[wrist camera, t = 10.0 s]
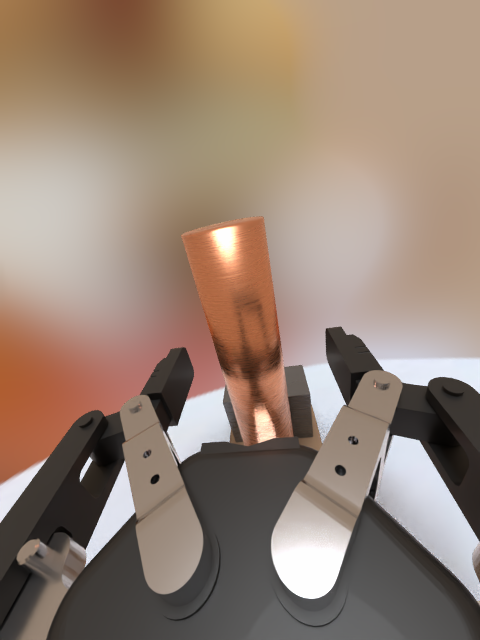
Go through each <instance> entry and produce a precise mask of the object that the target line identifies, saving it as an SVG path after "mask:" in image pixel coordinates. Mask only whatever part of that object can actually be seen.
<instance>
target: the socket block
mask: <svg viewBox="0 0 480 640" xmlns="http://www.w3.org/2000/svg"><path fill="white" fill-rule="evenodd" d="M284 370H285V377H286V384H287V392H288V399H289V406H290V414H291V421H292V428H293V435H294V437H298V438H307V437H313V425H312V412H311V399H310V392H309V388H308V385H307V381H306V377H305V374H304V370H303V366H302V365H299V366H289V367H284ZM223 405H224V408H225V411H226V414H227V417H228V420H229V423H230V426H231V429H232V432H233V435H234V438H235V441H236V442H243V439H242V436H241V433H240V429H239V426H238V423H237V419H236V416H235V413H234V409H233V406H232V403H231V400H230V396H229V393H228V390H227V386H225V392H224V399H223Z"/></svg>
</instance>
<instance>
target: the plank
mask: <svg viewBox="0 0 480 640" xmlns="http://www.w3.org/2000/svg"><path fill="white" fill-rule="evenodd" d="M311 412H312V425H313V437H307V438H298V439H299V445H304V446H307V447H310V448H313V449H315V450H317V451H319V450H320V448H321V446H322V442H321V438H320V434H319V430H318V427H317V423H316V419H315V415H314V412H313V408H312V405H311ZM230 443H234V444H239V445H244V443H243V442H236V441H235V438H234V435H233V432H232V429H231V435H230Z"/></svg>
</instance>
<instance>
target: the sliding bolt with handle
mask: <svg viewBox="0 0 480 640" xmlns="http://www.w3.org/2000/svg"><path fill="white" fill-rule="evenodd" d="M181 236H182V240H183V243H184V247H185V250H186V253H187V256H188V260H189V263H190V267H191V270H192V273H193V277H194V280H195V283H196V287H197V290H198V293H199V297H200V300H201V303H202V307H203V310H204V313H205V316H206V320H207V323H208V326H209V330H210V333H211V336H212V340H213V343H214V346H215V350H216V353H217V356H218V359H219V363H220V366H221V369H222V373H223V376H224V379H225V383H226V386H227V390H228V393H229V396H230V400H231V403H232V406H233V409H234V413H235V416H236V419H237V423H238V426H239V429H240V433H241V436H242V439H243V443H244V446H251V445H254V444H257V443H260V442H263V441H266V440H269V439H272V438H283V437H294V435H293V428H292V421H291V414H290V406H289V399H288V392H287V384H286V377H285V370H284V363H283V355H282V348H281V341H280V334H279V326H278V319H277V312H276V304H275V297H274V290H273V282H272V275H271V268H270V261H269V254H268V246H267V239H266V232H265V225H264V217H260V216H259V217H249V218H242V219H237V220H232V221H227V222H222V223H218V224H213V225H209V226H206V227H202V228H198V229H195V230H192V231H189V232H186V233H184V234H182V235H181Z"/></svg>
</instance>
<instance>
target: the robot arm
mask: <svg viewBox="0 0 480 640" xmlns="http://www.w3.org/2000/svg"><path fill="white" fill-rule="evenodd" d="M326 355H327V360H328V363H329V366H330V368H331V370H332V373H333V375H334V377H335V380H336V382H337V384H338V386H339V389H340V391H341V393H342V396H343V398H344V400H345V403H346V405H347V406H346V405H344V406H343V407H342V408H341V410H340V412H339V414H338V416H337V417H336V419H335V421H334V423H333V425H332V427H331V429H330V431H329V433H328V435H327V436H326V438H325V440H324V442H323V444H322V446H321V448H320V450H319V451H317V450H315V449H313V448H310V447H307V446H304V445H299V439H298V437H283V438H272V439H269V440H266V441H263V442H260V443H257V444H254V445H251V446H244V445H239V444H234V443H229V442H212V443H202V447H201V451H200V452H198V453H196V454H194V455H192V456H190V457H188V458H187V459H185V460H184V461H183V462H182V463H181V461H180V459H179V457H178V455H177V452H176V450H175V448H174V446H173V443H172V441H171V439H170V437H169V434H168V433H167V430H168V427H169V426H177V425H178V422H179V419H180V416H181V413H182V410H183V407H184V404H185V401H186V398H187V395H188V392H189V390H190V387H191V384H192V381H193V377H194V370H193V366H192V364H191V361H190V358H189V355H188V353H187V350H186V348H184V347H183V348H175V349H171V350H170V352H169V354H168V356H167V357H166V358H164V359H163V360H161V361H160V362H159V363H158V364H157V366H156V368H155V369H154V372H153V373H152V374H151V378H149V380H148V381H147V383H146V385H145V387H144V388H143V390H142V392H141V394H140V395H139V396H136V397H133V398H131V399H130V400H128V401H127V402H126V403H125V404H124V405H123V406H122V408H121V410H120V412H117V413H115V414H111V415H109V416H106V417H105V416H104V415H103V413H102V412H101V411H99V410H95V411H91V412H88V413H86V414H85V415H83V416H81V417H80V418H79V419H78V420H77V421H76V422H75V423H74V424H73V425H72V426H71V428H70V429H69V430H68V432H67V433H66V435H65V436H64V438H63V439H62V440H61V442H60V443H59V444H58V445H57V447H56V448H55V450H54V451H53V452H52V454H51V455H50V456H49V458H48V459H47V460H46V462H45V463H44V464H43V466H42V467H41V469H40V470H39V471H38V473H37V474H36V475H35V477H34V478H33V479H32V481H31V482H30V483H29V485H28V486H27V488H26V489H25V490H24V492H23V493H22V494H21V496H20V497H19V498H18V500H17V501H16V503H15V504H14V505H13V507H12V508H11V509H10V511H9V512H8V513H7V515H6V516H5V517H4V519H3V520H2V522H1V523H0V640H480V601H476V599H475V598H474V597H473V595H472V594H471V593H470V592H469V591H468V589H467V588H466V587H465V586H464V585H463V584H462V583H461V581H460V580H459V579H458V578H457V577H456V576H455V575H454V574H453V573H452V572H451V571H450V570H448V569H447V568H446V567H445V566H444V565H443V564H442V563H441V562H440V561H439V560H438V559H437V558H436V557H434V556H433V555H432V554H431V553H430V552H429V551H428V550H427V549H426V548H425V547H424V546H423V545H422V544H421V543H419V542H418V541H417V540H416V539H415V538H414V537H413V536H412V535H411V534H410V533H409V532H408V531H407V530H406V529H405V528H403V527H402V526H401V525H400V524H399V523H398V522H397V521H396V520H395V519H394V518H393V517H392V516H391V515H390V514H388V513H387V512H386V511H385V510H384V509H383V508H382V507H381V506H380V505H379V504H378V503H377V502H376V497H377V494H378V490H379V486H380V482H381V478H382V474H383V470H384V466H385V463H386V460H387V456H388V453H389V450H390V446H391V443H392V439H393V436H394V435H397V436H402V437H407V438H411V439H416V440H420V442H421V444H422V445H423V447H424V449H425V451H426V452H427V454H428V456H429V457H430V459H431V461H432V462H433V464H434V466H435V467H436V469H437V471H438V472H439V474H440V476H441V477H442V479H443V481H444V482H445V484H446V486H447V488H448V489H449V491H450V493H451V494H452V496H453V498H454V499H455V501H456V503H457V504H458V506H459V508H460V509H461V511H462V513H463V514H464V516H465V518H466V519H467V521H468V523H469V525H470V526H471V528H472V530H473V531H474V533H475V535H476V536H477V538H478V540H479V541H480V394H479V393H478V392H477V391H476V390H475V389H474V388H472V387H471V386H470V385H468V384H466V383H464V382H462V381H459V380H457V379H453V378H447V377H438V378H434V379H432V380H430V381H429V383H428V386H420V385H412V384H406V383H402V382H401V380H400V379H399V378H398V377H396V376H395V375H393V374H391V373H389V372H386V371H384V370H383V369H382V367H381V366H380V365H379V363H378V362H377V360H376V359H375V358H374V356H373V355H372V354H371V353H370V351H369V349H368V348H367V347H366V345H365V344H364V343H363V342H362V340H361V339H360V338H358V337H356V336H355V335H346V334H345V332H344V331H343V329H342V327H334V328H327V329H326ZM89 456H90V457H91V459H92V460H93V461H92V463H91V464H90V466H89V468H88V470H87V471H86V473H85V475H84V477H83V479H82V480H81V482H80V479H79V478H80V473H81V470H82V468H83V467H84V465H85V463H86V462H87V460H88V458H89ZM124 461H125V462H126V467H127V472H128V477H129V482H130V487H131V491H132V496H133V501H134V506H135V511H136V512H135V513H134V514H133V515H132V516H131V518H130V519H129V520H128V521H127V522H126V523H125V524H124V525H123V526H122V527H121V529H120V530H119V531H118V532H117V533H116V534H115V535H114V536H113V537H112V538H111V539H110V541H109V542H108V543H107V544H106V545H105V546H104V547H103V548H102V549H101V550H100V552H99V553H98V554H97V555H96V556H95V557H94V558H93V559H92V560H91V561H90V563H89V564H88V565H87V566H86V567H85V564H86V551H85V550H86V548H87V545H88V543H89V541H90V539H91V536H92V534H93V532H94V529H95V527H96V525H97V523H98V520H99V518H100V516H101V513H102V511H103V509H104V507H105V504H106V502H107V500H108V497H109V495H110V493H111V491H112V488H113V486H114V484H115V481H116V479H117V477H118V475H119V472H120V470H121V468H122V465H123V463H124ZM472 561H473V566H474V570H475V572H476V575H477V577H478V579H479V582H480V542H479V544H478V545H477V547H476V548H475V549H474V552H473V556H472ZM84 567H85V568H84Z"/></svg>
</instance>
